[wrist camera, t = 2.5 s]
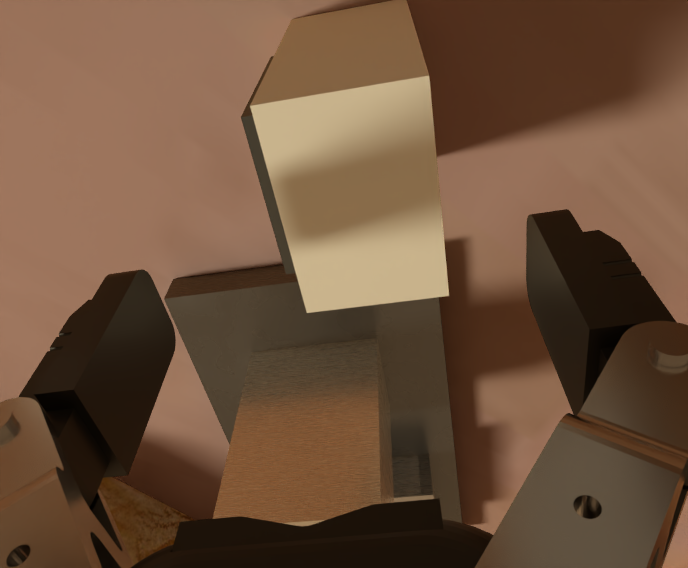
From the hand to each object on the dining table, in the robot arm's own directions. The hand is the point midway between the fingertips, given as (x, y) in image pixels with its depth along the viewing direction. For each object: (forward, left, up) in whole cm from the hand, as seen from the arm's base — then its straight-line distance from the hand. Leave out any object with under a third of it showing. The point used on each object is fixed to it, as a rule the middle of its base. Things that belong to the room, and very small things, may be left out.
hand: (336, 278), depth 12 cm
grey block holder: (+3, +18, -12) cm, 22 cm away
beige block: (-1, 0, -12) cm, 12 cm away
